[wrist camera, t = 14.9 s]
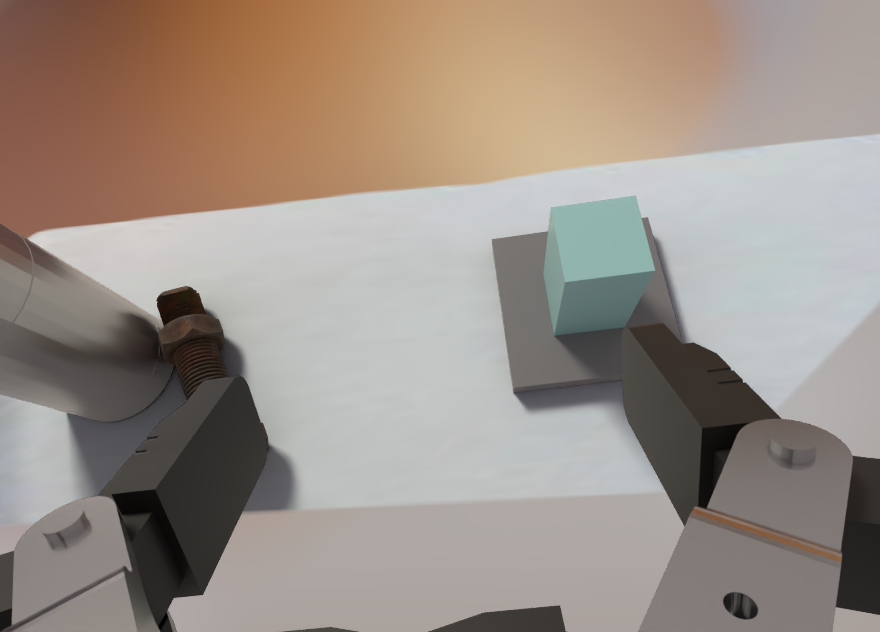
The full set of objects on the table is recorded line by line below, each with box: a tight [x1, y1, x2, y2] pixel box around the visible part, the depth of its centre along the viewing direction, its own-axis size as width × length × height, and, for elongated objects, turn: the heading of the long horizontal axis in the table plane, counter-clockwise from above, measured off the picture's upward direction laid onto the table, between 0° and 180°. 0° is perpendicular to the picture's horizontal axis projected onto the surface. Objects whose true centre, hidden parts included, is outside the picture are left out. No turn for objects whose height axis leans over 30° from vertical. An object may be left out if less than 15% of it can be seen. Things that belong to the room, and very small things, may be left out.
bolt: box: [157, 286, 268, 451], centre depth 41 cm, size 6×5×15 cm
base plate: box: [492, 217, 683, 393], centre depth 39 cm, size 12×12×4 cm
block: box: [543, 196, 655, 336], centre depth 35 cm, size 5×5×9 cm
